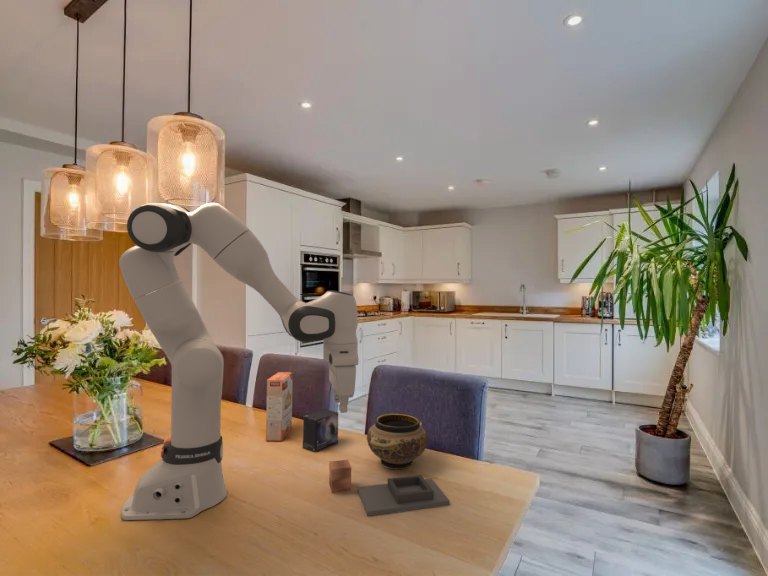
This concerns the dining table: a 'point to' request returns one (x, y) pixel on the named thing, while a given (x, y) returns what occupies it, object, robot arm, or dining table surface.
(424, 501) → the base board
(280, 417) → the cracker box
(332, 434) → the small box
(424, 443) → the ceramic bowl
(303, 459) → the dining table surface
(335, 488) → the terracotta block
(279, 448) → the dining table surface
